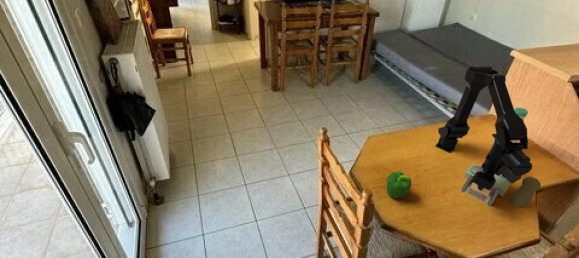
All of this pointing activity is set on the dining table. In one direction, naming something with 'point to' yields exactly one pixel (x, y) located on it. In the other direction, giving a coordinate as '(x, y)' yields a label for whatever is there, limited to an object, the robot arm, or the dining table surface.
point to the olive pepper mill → (525, 192)
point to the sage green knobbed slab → (500, 182)
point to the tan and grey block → (482, 190)
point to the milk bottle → (521, 113)
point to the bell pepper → (398, 184)
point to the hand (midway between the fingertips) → (482, 186)
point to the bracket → (479, 194)
